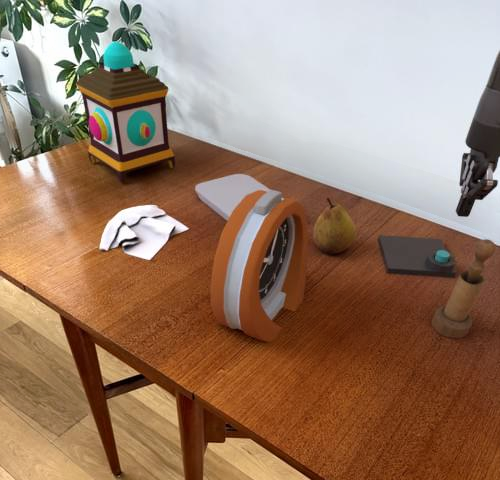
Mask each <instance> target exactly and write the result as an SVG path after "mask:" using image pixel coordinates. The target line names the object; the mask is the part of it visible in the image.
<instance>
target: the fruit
mask: <svg viewBox="0 0 500 480" xmlns="http://www.w3.org/2000/svg"><path fill="white" fill-rule="evenodd" d="M326 201H327V202H328V203H329V205H328V206H326V207H325V209H324V210H323V211H322V213H321V214H320V215H319V216H318V218H317V219H316V221H315V223H314V226H313V231H312V238H313V242H314V244H315V246H316V248H317V249H318V250H319V251H321V252H322V253H324V254H326V255H336V254H340V253H343V252H344V251H345V250H347V249H348V248H350V247H351V245H352V243H353V242H354V240H355V237H356V228H355V224H354V222H353V219H352V217H351V216H350V215H349V213H348V212H347V211H346V209H344V207H343V206H342V205H340V204H339V203H332V201H331V199H330V198H329V197H326Z"/></svg>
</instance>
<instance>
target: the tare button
mask: <svg viewBox="0 0 500 480" xmlns="http://www.w3.org/2000/svg"><path fill="white" fill-rule="evenodd" d="M450 255H451V254H450V253H449V251H447V250H446V251H444V250H439V251H437V253H436V256H435V260H436V261H438V262H441V263H447V262H448V259H449V257H450Z"/></svg>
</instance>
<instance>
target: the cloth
mask: <svg viewBox="0 0 500 480" xmlns="http://www.w3.org/2000/svg"><path fill="white" fill-rule="evenodd" d="M104 227H105V228H104V230H103V232H102V235H101V237H100V239H101V240H100V244H99V251H107V252H108V251H109V250H113V249H115V248H118V247H119V244H120V243H121V245H122V246H121V247H122V251H123V253H124V254H126V255H129V256H131V257H136V258H139V259H143V260H147V261H151V260H152V259H153V258H154V257H155V256H156V255H157V253H158V252H159V251H160V250H162V248H163V247H164V246H165V245H166V244H167V242H168V241H169V238H170V237H173V236H175V235H178V234H180V233H183V232H186V231H189V230H190V228H189V227H188V226H186V225H184V224H183V223H181V222H180V221H178V220H177V219H175V218H173V217H172V216H170V215H168V214H167V213H166V212H165V211H164V210H163V209H161V208H159V207H158V205H155V204H146V205H138V206H132V207H128V208H124V209H122V210H120V211H118V212H117V213H116V214H115V215H114V217H113V218H112V219H110V220H109V221H108V222H107V224H106V225H105V226H104Z"/></svg>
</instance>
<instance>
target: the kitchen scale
mask: <svg viewBox="0 0 500 480" xmlns="http://www.w3.org/2000/svg"><path fill="white" fill-rule="evenodd" d="M377 242H378V246H379V249H380V253H381V257H382V260H383V264H384V267H385V271H386V274H388V275H389V274H391V275H405V276H406V275H407V276H421V277H435V278H436V277H437V278H450V279H455V278H456V276H457V270H456V268H455V264H456V258H455V257H454V256H453V255H452V254H450V257H449V259H448V262H447V263H441V262H438V261H436V260H435V256H436V253H437V251H439V250H444V251H447V249H446V246H445V244H444V242H443V239H442V238H429V237H427V238H426V237H412V236H398V235H383V234H381V235H380V234H379V235H378V239H377Z"/></svg>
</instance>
